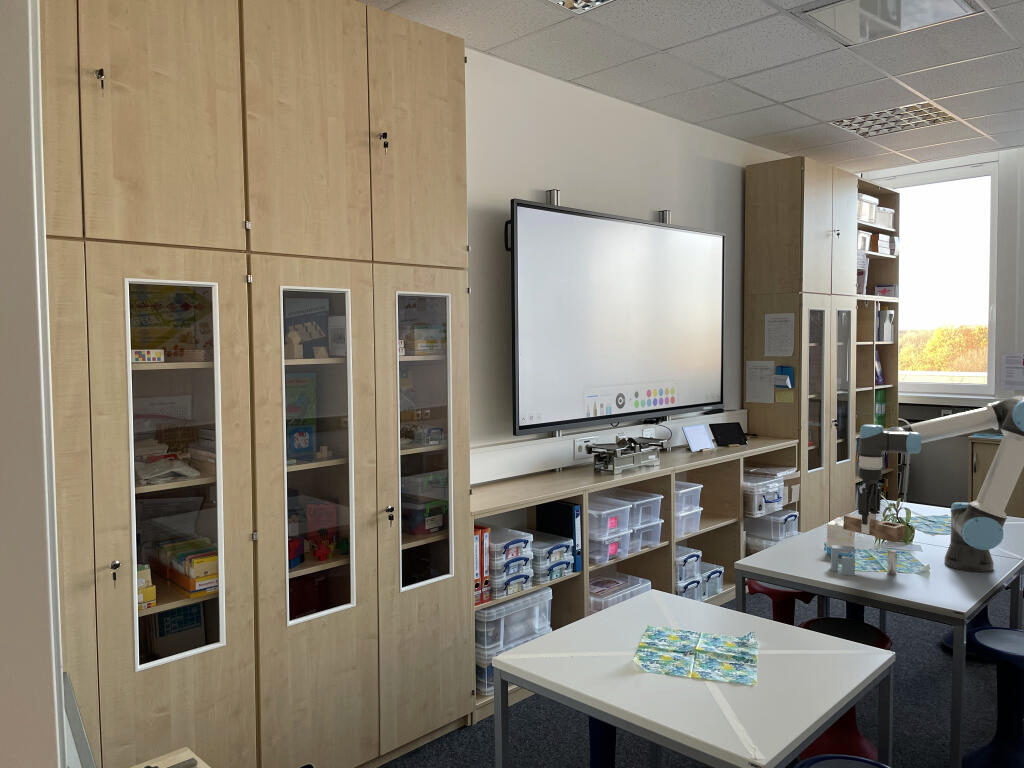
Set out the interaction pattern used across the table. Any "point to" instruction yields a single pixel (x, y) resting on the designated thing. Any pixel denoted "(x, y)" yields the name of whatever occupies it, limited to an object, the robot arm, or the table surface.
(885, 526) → the link
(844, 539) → the ink box
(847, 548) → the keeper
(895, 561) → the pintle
